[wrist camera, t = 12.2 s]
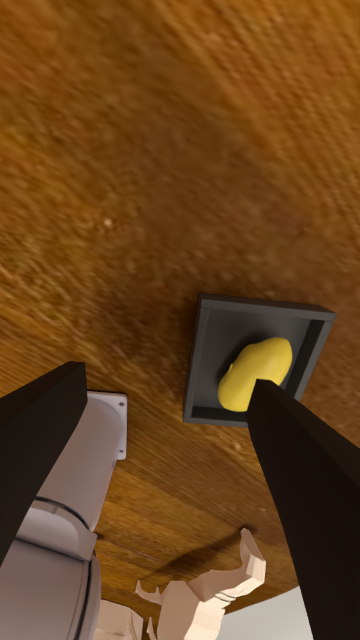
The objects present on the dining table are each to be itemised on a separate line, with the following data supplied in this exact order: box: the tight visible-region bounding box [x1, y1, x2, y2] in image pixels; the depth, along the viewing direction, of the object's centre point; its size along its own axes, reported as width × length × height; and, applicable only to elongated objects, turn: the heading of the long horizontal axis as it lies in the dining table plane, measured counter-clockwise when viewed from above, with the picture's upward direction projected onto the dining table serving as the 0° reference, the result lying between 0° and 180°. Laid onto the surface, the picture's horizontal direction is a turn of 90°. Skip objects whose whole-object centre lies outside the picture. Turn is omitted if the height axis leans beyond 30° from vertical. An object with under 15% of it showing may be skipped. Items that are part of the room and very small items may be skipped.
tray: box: [183, 293, 337, 428], centre depth 18 cm, size 12×10×2 cm
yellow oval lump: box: [218, 337, 292, 412], centre depth 16 cm, size 4×8×4 cm, turn 143°
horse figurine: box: [127, 528, 266, 640], centre depth 29 cm, size 5×16×25 cm
